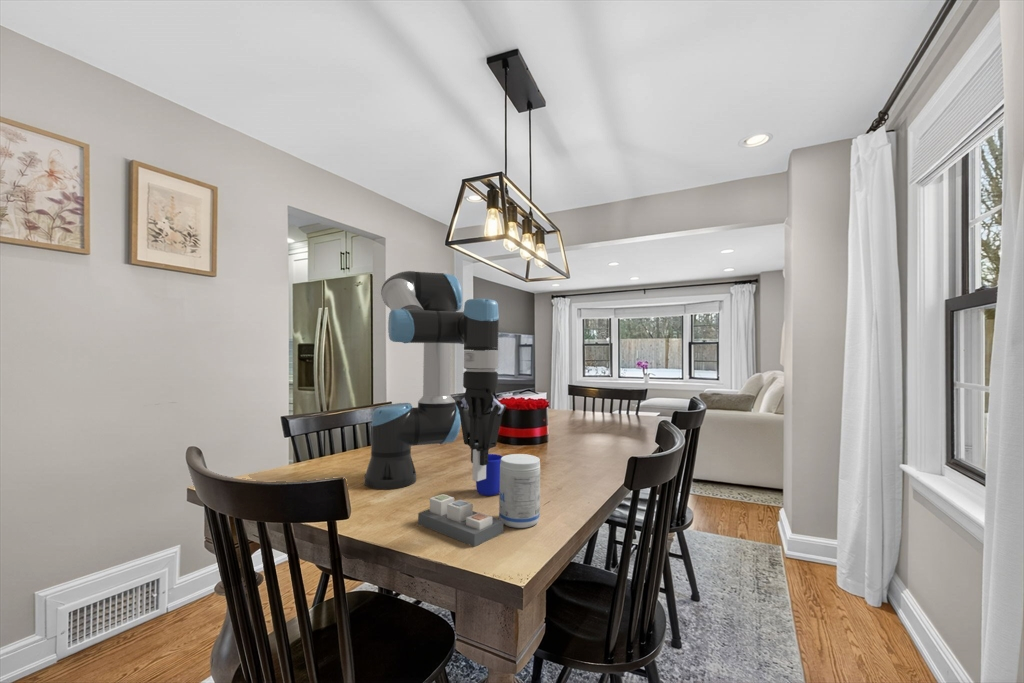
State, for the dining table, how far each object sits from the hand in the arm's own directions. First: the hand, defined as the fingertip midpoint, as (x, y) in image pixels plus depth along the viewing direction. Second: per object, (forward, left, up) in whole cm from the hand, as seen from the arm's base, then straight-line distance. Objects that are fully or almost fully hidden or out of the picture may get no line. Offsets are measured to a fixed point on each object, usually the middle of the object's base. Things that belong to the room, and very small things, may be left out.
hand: (479, 479), depth 93 cm
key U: (-6, 0, -10) cm, 11 cm away
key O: (0, 0, -11) cm, 11 cm away
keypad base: (-6, 0, -12) cm, 13 cm away
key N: (-12, 0, -10) cm, 15 cm away
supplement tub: (+2, +12, -12) cm, 17 cm away
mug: (-16, +23, -12) cm, 31 cm away
